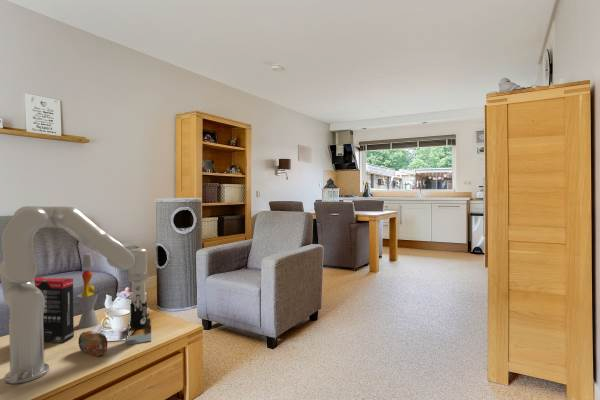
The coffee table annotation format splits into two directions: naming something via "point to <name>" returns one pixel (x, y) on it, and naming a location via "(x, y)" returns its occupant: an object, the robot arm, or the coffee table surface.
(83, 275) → the lava lamp
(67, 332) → the graphics card box
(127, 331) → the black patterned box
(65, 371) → the coffee table surface
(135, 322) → the beverage can
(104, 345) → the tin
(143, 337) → the grey mat
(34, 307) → the robot arm
